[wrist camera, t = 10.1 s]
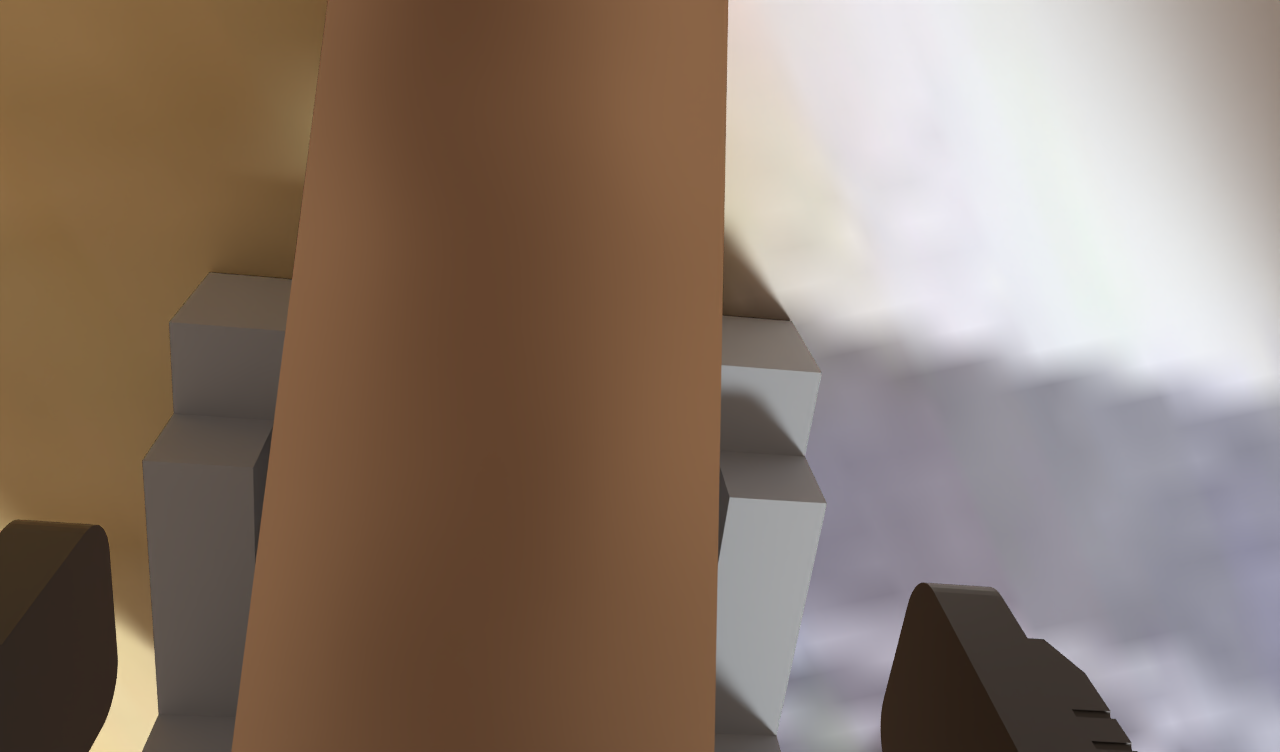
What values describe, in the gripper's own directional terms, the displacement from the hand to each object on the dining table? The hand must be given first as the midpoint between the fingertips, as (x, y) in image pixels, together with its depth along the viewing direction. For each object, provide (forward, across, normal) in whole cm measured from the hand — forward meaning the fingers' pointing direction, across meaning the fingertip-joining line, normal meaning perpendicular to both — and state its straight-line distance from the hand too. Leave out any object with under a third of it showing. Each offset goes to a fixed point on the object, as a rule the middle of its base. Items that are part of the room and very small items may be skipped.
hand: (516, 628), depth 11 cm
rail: (+8, 0, +2) cm, 9 cm away
